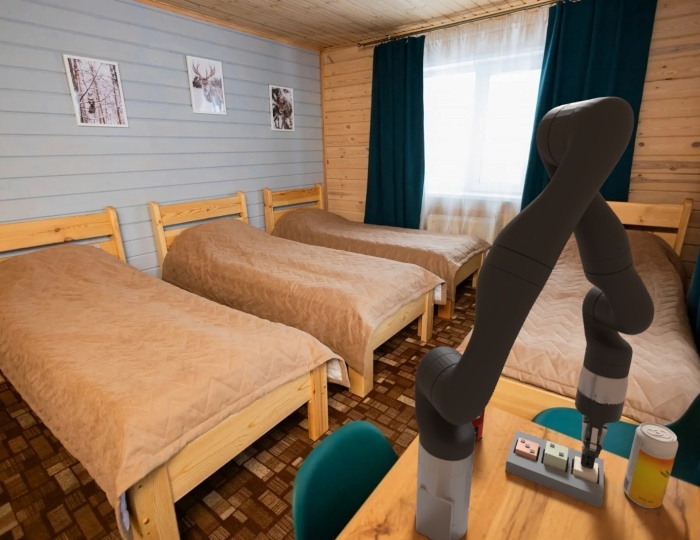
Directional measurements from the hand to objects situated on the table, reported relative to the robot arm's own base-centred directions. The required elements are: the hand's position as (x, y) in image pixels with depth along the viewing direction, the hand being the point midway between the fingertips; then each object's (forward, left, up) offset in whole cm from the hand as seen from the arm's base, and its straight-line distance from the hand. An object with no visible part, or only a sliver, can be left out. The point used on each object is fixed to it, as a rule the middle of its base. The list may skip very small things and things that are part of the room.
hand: (586, 465), depth 76 cm
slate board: (0, +6, -4) cm, 7 cm away
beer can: (+1, -9, -4) cm, 10 cm away
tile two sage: (0, +6, -2) cm, 6 cm away
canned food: (+1, +25, -4) cm, 25 cm away
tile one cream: (0, 0, -3) cm, 3 cm away
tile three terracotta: (0, +11, -3) cm, 11 cm away
